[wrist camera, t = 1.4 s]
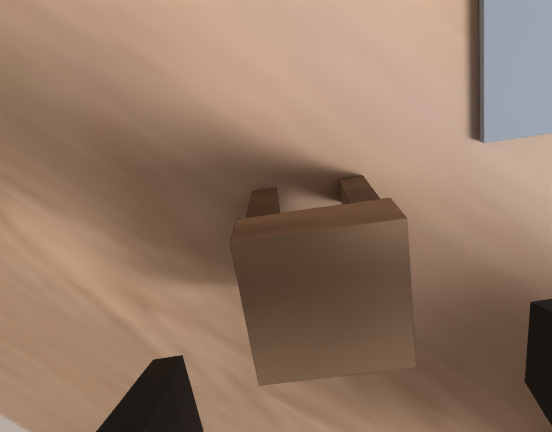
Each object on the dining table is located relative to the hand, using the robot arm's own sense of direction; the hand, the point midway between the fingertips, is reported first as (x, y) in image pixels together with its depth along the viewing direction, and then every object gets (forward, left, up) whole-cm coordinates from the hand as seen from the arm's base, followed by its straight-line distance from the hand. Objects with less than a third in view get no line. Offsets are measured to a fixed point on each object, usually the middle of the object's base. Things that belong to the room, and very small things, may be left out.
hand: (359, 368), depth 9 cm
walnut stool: (-1, 0, -10) cm, 10 cm away
